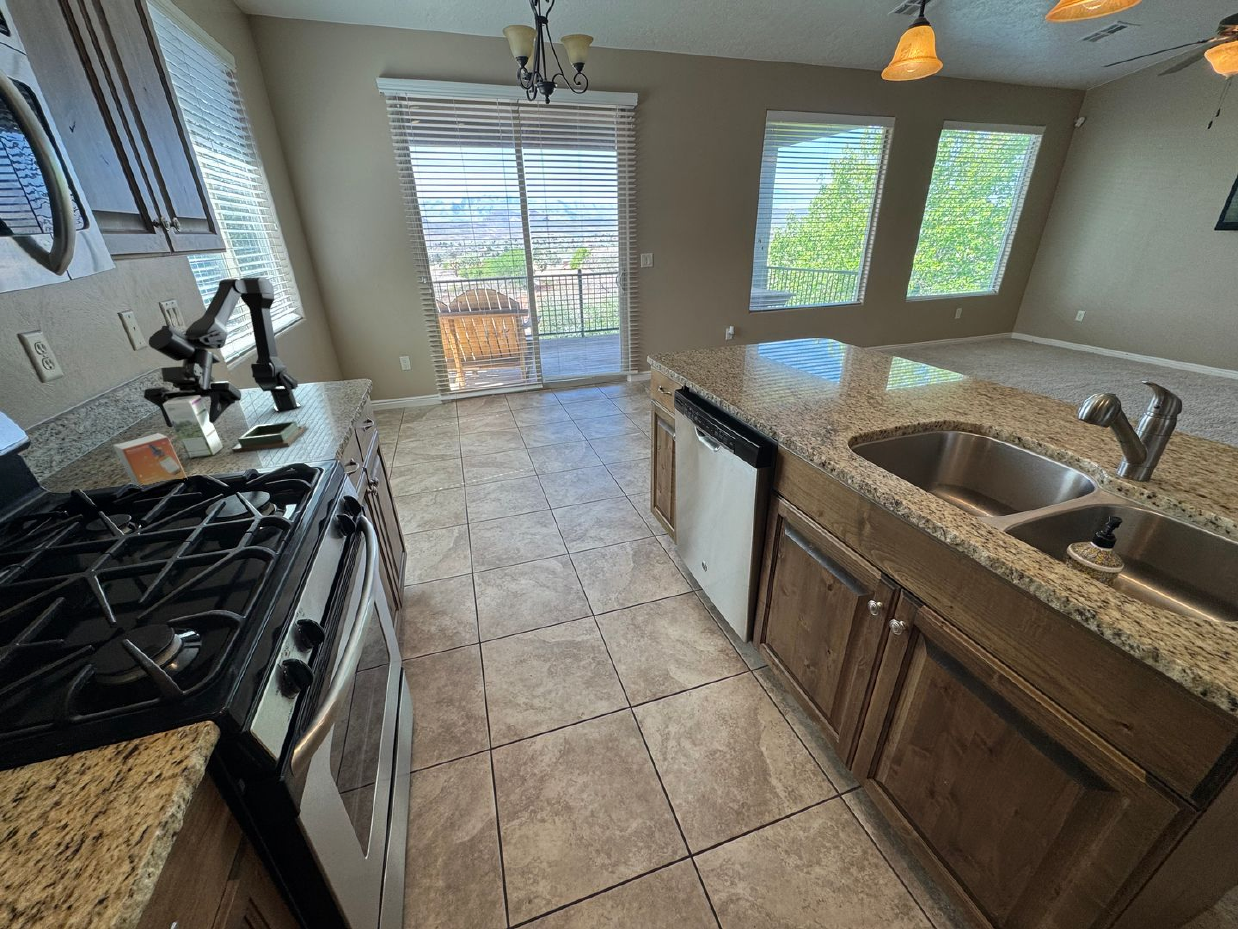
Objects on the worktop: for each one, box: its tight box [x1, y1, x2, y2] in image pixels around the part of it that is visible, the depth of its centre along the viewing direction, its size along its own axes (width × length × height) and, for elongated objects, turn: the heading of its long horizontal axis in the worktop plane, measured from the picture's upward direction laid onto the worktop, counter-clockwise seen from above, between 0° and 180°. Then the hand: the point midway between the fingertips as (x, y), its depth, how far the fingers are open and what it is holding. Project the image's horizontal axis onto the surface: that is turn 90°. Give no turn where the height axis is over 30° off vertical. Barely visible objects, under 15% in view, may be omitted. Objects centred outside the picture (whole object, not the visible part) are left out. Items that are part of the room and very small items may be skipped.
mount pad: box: [231, 421, 308, 454], centre depth 129 cm, size 13×13×3 cm
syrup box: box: [163, 395, 224, 459], centre depth 121 cm, size 6×6×14 cm
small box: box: [112, 432, 188, 486], centre depth 106 cm, size 8×6×10 cm
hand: (190, 424), depth 120 cm, fingers open, 9 cm apart
